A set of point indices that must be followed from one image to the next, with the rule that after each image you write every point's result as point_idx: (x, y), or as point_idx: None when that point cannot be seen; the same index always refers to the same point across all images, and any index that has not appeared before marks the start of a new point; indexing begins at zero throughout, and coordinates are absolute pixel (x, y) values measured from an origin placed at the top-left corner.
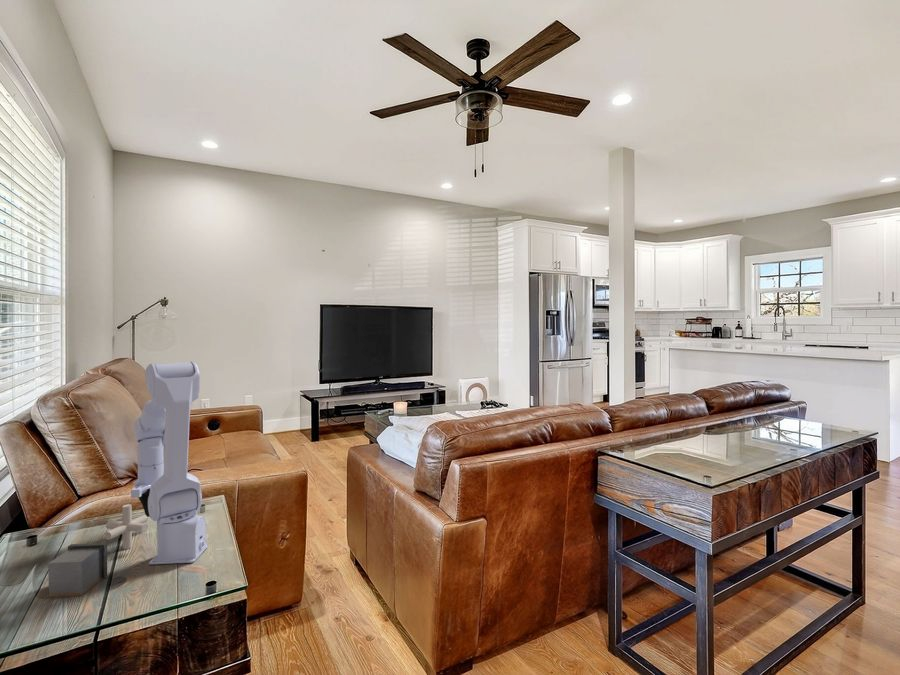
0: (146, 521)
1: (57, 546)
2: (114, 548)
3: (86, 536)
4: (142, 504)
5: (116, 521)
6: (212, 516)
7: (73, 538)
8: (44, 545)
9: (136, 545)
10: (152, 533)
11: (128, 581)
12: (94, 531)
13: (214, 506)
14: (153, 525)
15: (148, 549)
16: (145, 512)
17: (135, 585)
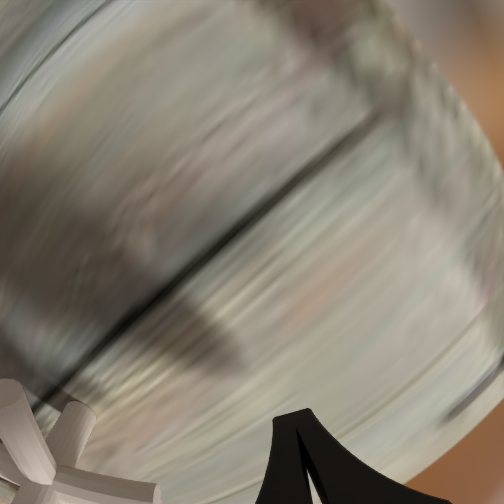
0: (159, 497)
1: (15, 76)
2: (54, 370)
3: (119, 89)
4: (259, 492)
5: (12, 447)
6: (403, 469)
7: (92, 49)
8: (29, 16)
9: (108, 432)
10: (227, 420)
11: (7, 485)
12: (190, 67)
13: (488, 405)
14: (323, 356)
15: (107, 475)
16: (274, 438)
17: (11, 497)
